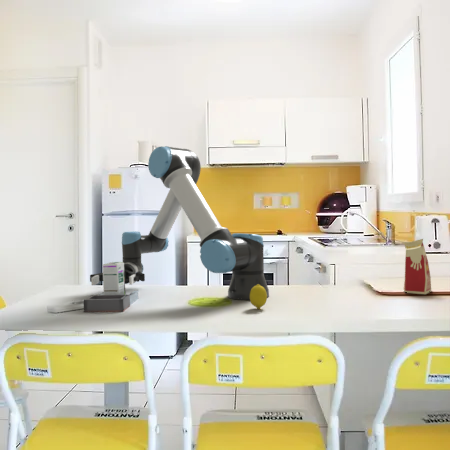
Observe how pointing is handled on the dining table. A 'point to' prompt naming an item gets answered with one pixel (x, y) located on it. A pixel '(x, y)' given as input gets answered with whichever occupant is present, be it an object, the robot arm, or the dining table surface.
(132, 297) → the guide channel
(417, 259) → the red paper bag
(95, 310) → the trap bin
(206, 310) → the dining table surface
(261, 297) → the lemon
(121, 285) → the syrup box
